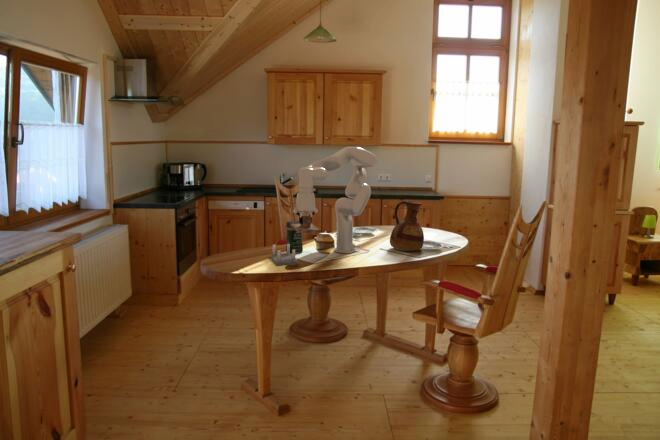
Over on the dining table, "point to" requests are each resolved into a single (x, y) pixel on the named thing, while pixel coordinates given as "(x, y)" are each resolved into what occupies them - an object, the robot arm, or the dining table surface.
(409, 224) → the ceramic pitcher
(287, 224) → the coffee jar
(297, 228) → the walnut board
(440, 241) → the dining table surface
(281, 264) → the peg stand
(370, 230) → the dining table surface
